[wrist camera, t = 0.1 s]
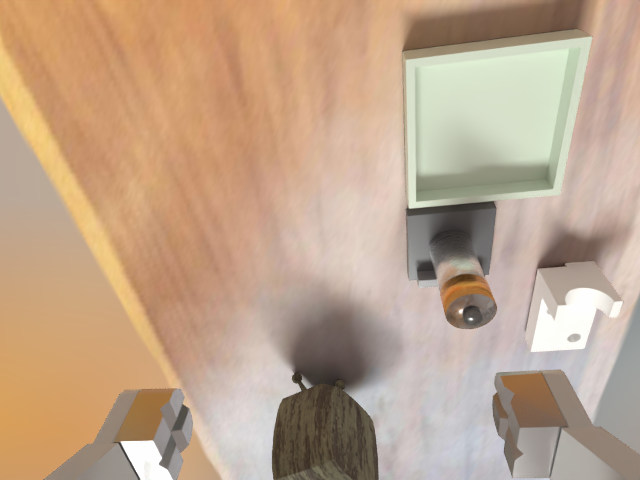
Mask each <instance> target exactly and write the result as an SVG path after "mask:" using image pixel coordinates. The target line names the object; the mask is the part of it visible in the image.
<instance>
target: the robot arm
mask: <svg viewBox="0 0 640 480" xmlns="http://www.w3.org/2000/svg"><path fill="white" fill-rule="evenodd" d="M494 384H495V387H496V390H497V393H496V394H495V395H494V396H493V404H492V407H493V417H494V421H495V426H496V429H497V432H498V435H499V436H500V437H501V438H502V439H504V440H505V446H504V454H505V457H506V460H507V463H508V466H509V469H510V472H511V475H512V478H550V480H640V455H639V454H638V453H637V452H636V451H634V450H633V449H631V448H630V447H629V446H627V445H626V444H624V443H623V442H622V441H620V440H619V439H617V438H616V437H615V436H613V435H612V434H610V433H609V432H607V431H606V430H605V429H603V428H602V427H594V426H593V424H592V422H591V420H590V419H589V417H588V415H587V413H586V411H585V409H584V408H583V406H582V404H581V402H580V400H579V398H578V397H577V395H576V393H575V391H574V389H573V387H572V386H571V384H570V382H569V380H568V378H567V376H566V375H565V373H564V372H563V371H562V370H542V371H520V372H503V373H497V374H496V376H495V381H494ZM184 398H185V397H184V395H183V393H182V391H181V389H177V388H176V389H138V390H124V391H123V392H122V393H121V394H119V396H118V398H117V400H116V402H115V403H114V405H113V408H112V409H111V411H110V413H109V415H108V416H107V418H106V420H105V422H104V424H103V426H102V428H101V429H100V431H99V433H98V435H97V437H96V439H95V441H94V442H93V444H87V445H86V446H84V447H83V448H82V449H81V450H79V451H78V452H77V453H76V454H75V455H73V456H72V457H71V458H70V459H68V460H67V461H66V462H65V463H63V464H62V465H61V466H60V467H59V468H57V469H56V470H55V471H53V472H52V473H51V474H50V475H49V476H47V477H46V478H45V479H44V480H177V478H178V475H179V472H180V469H181V466H182V463H183V459H182V457H181V454H180V453H181V452H182V451H183V450H184V449H185V448H186V447H187V446H188V445H189V442H190V439H191V436H192V427H193V421H192V415H191V412H190V409H189V408H188V407H186V406H185V405H183V404H182V403H183V401H184Z"/></svg>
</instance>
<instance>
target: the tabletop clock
mask: <svg viewBox="0 0 640 480" xmlns="http://www.w3.org/2000/svg"><path fill="white" fill-rule="evenodd" d="M292 380H293V382H294V383H298V384H299V386H300V388H301V390H302V391H301V392H299V393H296V394H294V395H291V396H289V397H286V398H284V399H283V400H282V402H281V403H280V406H279V409H278V413H277V418H276V423H275V429H274V436H273V450H272V471H273V479H274V480H378V479H379V478H378V456H377V445H376V436H375V429H374V425H373V421H372V419H371V418H370V416H369V415H368V414H367V412H366V411H365V410H364V409H363V408H362V407H361V406H360V405H359V404H358V403H357V402H356V401H355V400H354V399H353V398H352V397H350V396H349V395H348V394H347V393H346V392H344V391H343V389H344V387H345V383H344V381H342V380H337V381H336V383H335V386H332V385H327V384H323V383H321V384H318V385H316V386H314V387H311V388H309V389H306V387H305V386H304V385H303V383H302V382H301V380H302V376H301V374H299V373H295V374H294V375H293V376H292Z"/></svg>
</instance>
